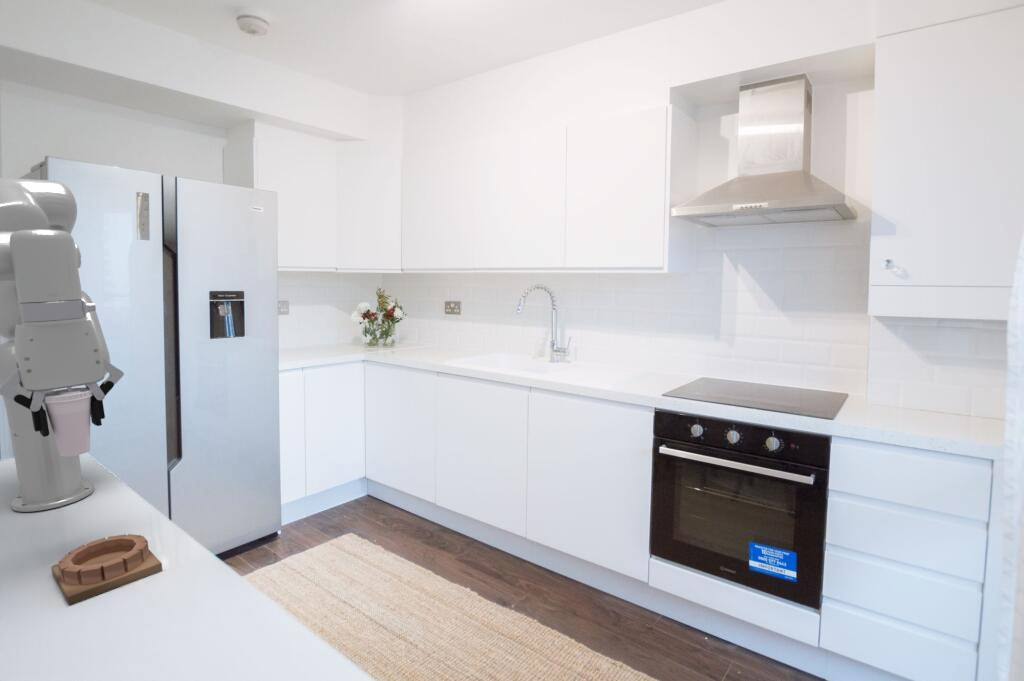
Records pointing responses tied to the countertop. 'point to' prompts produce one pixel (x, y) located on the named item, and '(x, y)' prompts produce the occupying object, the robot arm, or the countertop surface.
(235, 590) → the countertop surface
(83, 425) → the smoothie
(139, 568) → the ring board
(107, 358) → the robot arm
